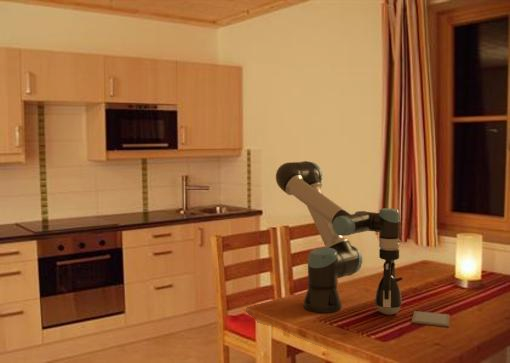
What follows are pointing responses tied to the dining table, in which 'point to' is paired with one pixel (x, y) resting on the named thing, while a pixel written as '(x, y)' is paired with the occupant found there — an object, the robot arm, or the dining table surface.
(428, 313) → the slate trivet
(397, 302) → the pump dispenser
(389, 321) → the dining table surface
